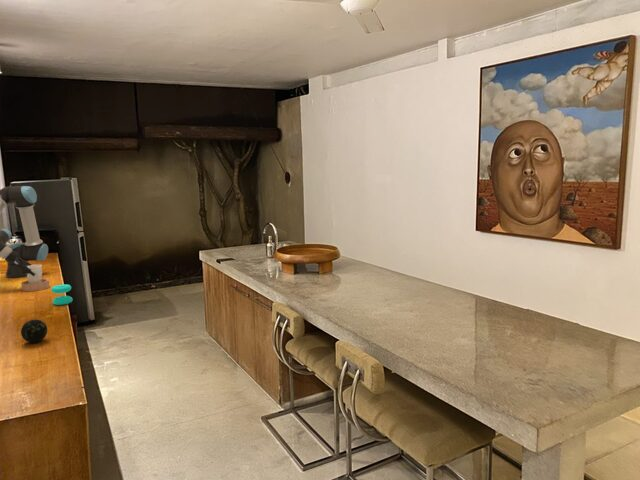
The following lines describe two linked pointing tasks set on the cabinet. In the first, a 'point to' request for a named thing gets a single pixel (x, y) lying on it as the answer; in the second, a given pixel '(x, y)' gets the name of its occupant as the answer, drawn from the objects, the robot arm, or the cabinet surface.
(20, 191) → the robot arm
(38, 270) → the foam cup
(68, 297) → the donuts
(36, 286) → the bowl
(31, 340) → the decorative stone
